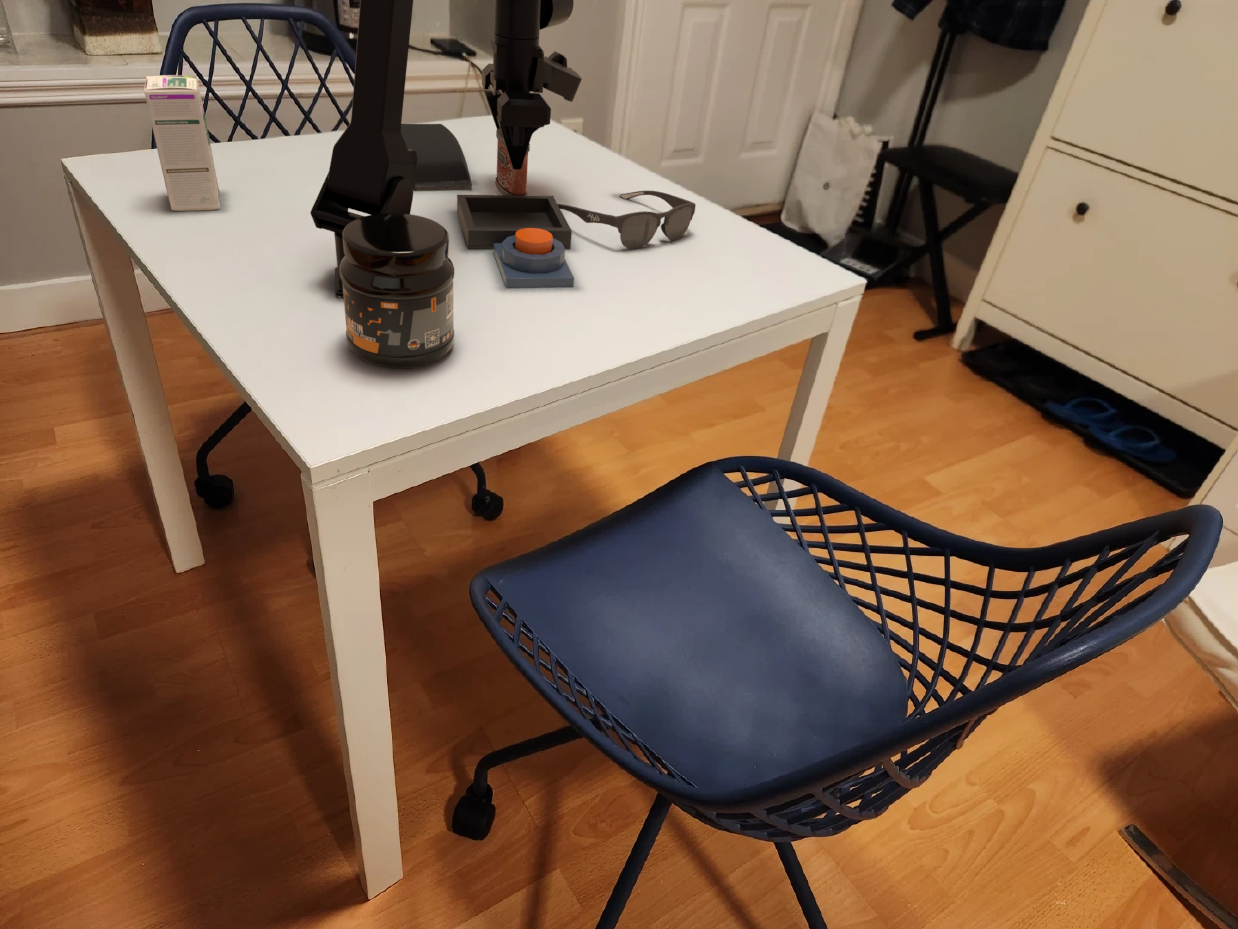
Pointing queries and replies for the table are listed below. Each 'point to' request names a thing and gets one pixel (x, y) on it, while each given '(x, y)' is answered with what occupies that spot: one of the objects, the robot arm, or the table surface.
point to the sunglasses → (643, 219)
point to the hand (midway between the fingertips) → (512, 159)
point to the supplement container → (397, 289)
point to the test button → (533, 241)
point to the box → (532, 266)
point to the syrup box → (182, 142)
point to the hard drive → (436, 156)
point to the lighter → (509, 171)
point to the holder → (509, 218)
